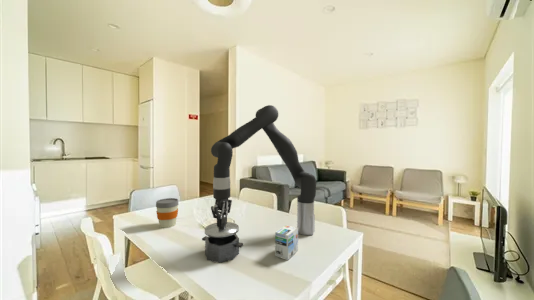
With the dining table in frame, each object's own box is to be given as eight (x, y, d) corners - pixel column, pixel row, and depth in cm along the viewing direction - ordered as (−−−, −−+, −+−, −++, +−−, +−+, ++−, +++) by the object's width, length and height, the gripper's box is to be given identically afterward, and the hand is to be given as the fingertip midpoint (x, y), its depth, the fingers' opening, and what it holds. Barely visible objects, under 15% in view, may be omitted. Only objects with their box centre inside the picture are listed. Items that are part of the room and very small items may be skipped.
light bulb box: (288, 260, 94) (288, 235, 94) (274, 256, 98) (274, 232, 98) (298, 250, 104) (298, 227, 103) (285, 246, 107) (285, 224, 107)
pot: (249, 250, 103) (249, 235, 103) (234, 266, 90) (233, 249, 90) (212, 243, 110) (212, 229, 110) (193, 257, 97) (193, 241, 97)
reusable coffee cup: (169, 220, 144) (168, 197, 143) (183, 223, 138) (183, 199, 138) (151, 227, 132) (150, 201, 132) (166, 230, 127) (165, 204, 126)
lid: (243, 228, 105) (243, 211, 105) (229, 242, 91) (229, 222, 90) (215, 225, 109) (215, 208, 109) (197, 237, 95) (197, 218, 95)
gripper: (220, 190, 91) (220, 232, 92) (237, 184, 105) (237, 221, 105) (205, 189, 94) (205, 229, 95) (223, 183, 107) (223, 219, 108)
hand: (222, 224), depth 100 cm, fingers closed on lid, 3 cm apart
